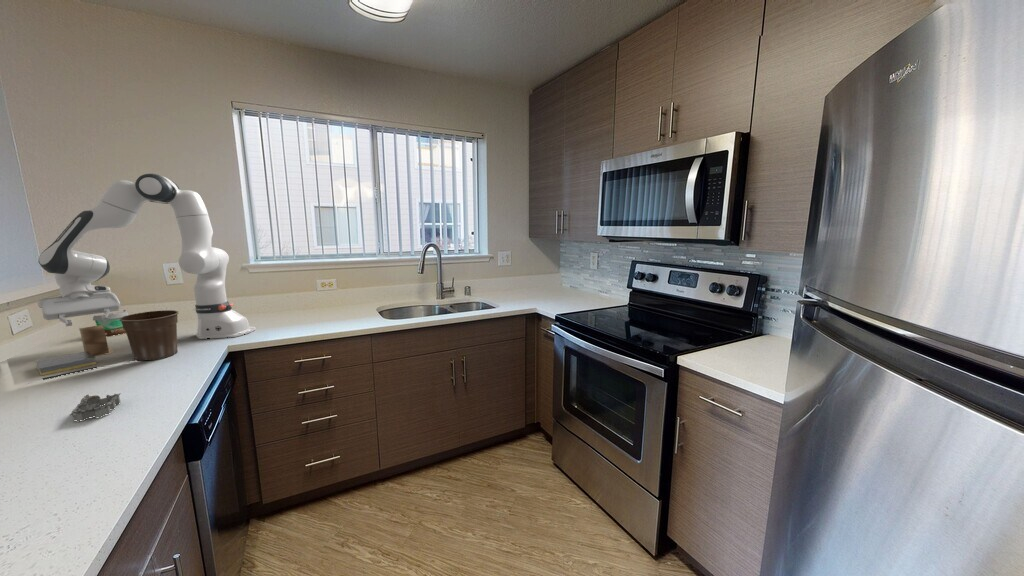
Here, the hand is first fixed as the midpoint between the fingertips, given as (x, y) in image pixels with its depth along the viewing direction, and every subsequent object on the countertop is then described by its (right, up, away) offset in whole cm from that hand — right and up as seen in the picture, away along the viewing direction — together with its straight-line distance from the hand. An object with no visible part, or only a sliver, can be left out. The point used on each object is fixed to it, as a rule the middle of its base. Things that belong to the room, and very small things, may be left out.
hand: (87, 322), depth 145 cm
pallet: (+6, -13, -2) cm, 14 cm away
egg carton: (+52, -20, -44) cm, 71 cm away
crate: (+6, -12, -2) cm, 13 cm away
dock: (+9, -15, -14) cm, 23 cm away
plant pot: (+28, -13, -1) cm, 30 cm away
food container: (-19, -8, +29) cm, 36 cm away
